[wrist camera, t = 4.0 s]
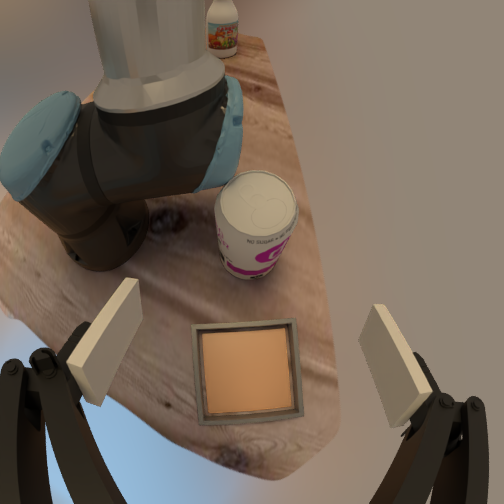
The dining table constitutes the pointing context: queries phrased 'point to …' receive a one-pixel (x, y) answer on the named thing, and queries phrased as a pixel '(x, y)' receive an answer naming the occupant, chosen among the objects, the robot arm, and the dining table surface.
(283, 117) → the dining table surface
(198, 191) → the robot arm
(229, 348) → the tray
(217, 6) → the milk bottle
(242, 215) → the supplement can
